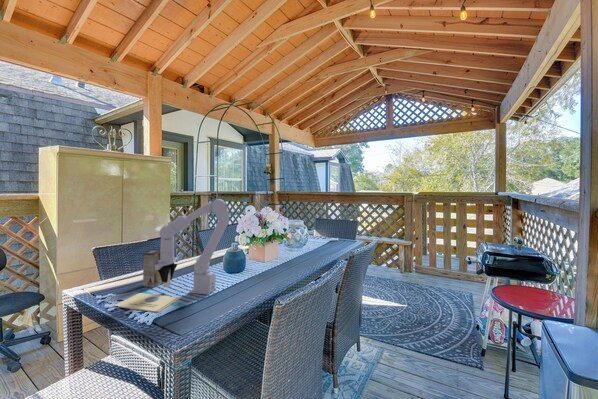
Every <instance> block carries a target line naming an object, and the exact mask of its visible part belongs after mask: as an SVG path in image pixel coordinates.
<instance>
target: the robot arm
mask: <svg viewBox="0 0 598 399" xmlns="http://www.w3.org/2000/svg"><path fill="white" fill-rule="evenodd" d="M212 213H213V214H215V216H216V218H217V220H218V222H217V224H216V225H215V227H214V229H213V232H212V233H211V235H210V237H209V240H207V241H208V242H207V244H206V246H205V248H204V250H203V251H202V254H201V255H200V256H199V257H197V258H196V260H195V263H194V265H193V270H194V271H193V289H191V290H190V291H189V293H190V294H199V295H200V294H201V295H209V294H211V293H212V292H214V291H215V290H216V289H217V288H216V278H217V277H216V273H214V272H211V270H210V268H209V266H210V263H211V260H212V258H213V255H214V252H215V251H216V248H217V247H218V244H219V243H220V241H221V238H222V237H223V235H224V233H225V232H226V228H228V227H227V226H228V224H229V223H230V216H229V209H228V205H227V203H226V201H225V200H224V199H222V198H216V199H215V200H212V201H209V202H207V203H205V204H203V205H201V206H200V207H199V208H197V209H195V210H194V211H192V212H191V213H190V214H188V215H179V216H177V217H176V219H174V220H173V221H169V222H167V225H164V226H163V227H162V228H160V229H159V236H160V250H161V251H160V260H159V261H158V262H159V263H158V264H156V265H155V270H158V272H159V274H160V276H161V280H162V282H165V283H166V282H167V280H168V273H169V270H170V268H171V272H170V281H172V279H173V276H174V272H175V271H176V268H177V266H178V262H179V259H180V258H179V257H177V256H175V235H176V234H178V233H180V232H181V231H183V230H184V229H187V228H188V227H190V226H191V222H192V221H194V220H196V219H197V218H199V217H201V216H203V215H204V214H212Z"/></svg>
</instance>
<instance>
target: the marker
mask: <svg viewBox="0 0 598 399" xmlns="http://www.w3.org/2000/svg"><path fill="white" fill-rule="evenodd" d="M170 272H171V268H170V270H169V273H168V280H167V282H166V283H165V282H164V283H163V288H170V287H171V280H170Z"/></svg>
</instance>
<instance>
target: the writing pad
mask: <svg viewBox="0 0 598 399" xmlns="http://www.w3.org/2000/svg"><path fill="white" fill-rule="evenodd" d="M179 300H181V297H177V296H168V295H161V294H151V293H142V292H139V293H136V294H134V295H132V296H130V297H128V298H127V299H125V300H122V301H120V302H118V303H116V304H114V305H113V307H114V306H118V307H117V308H124V309H131V310H138V311H146V312H151V313H152V312H154V313H160V312H162V311H163V310H165V309H167V308H168V307H169V306H171V305H173V304H174V303H176V302H177V301H179Z"/></svg>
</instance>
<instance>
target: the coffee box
mask: <svg viewBox="0 0 598 399" xmlns="http://www.w3.org/2000/svg"><path fill="white" fill-rule="evenodd" d="M160 251H161V249H153V250H150V251H147V252H144V253H143V259H142V260H143V262H142V265H143V266H142V270H143V272H142V275H143V276H142V277H143V278H142V285H143V287H148V288H155V287H157V286H160V285H162V284H164V282H162V280H161V276H160V274H159V272H158V270H155V265H156V264H158V263H159V262H158V261H159V260H160Z"/></svg>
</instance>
